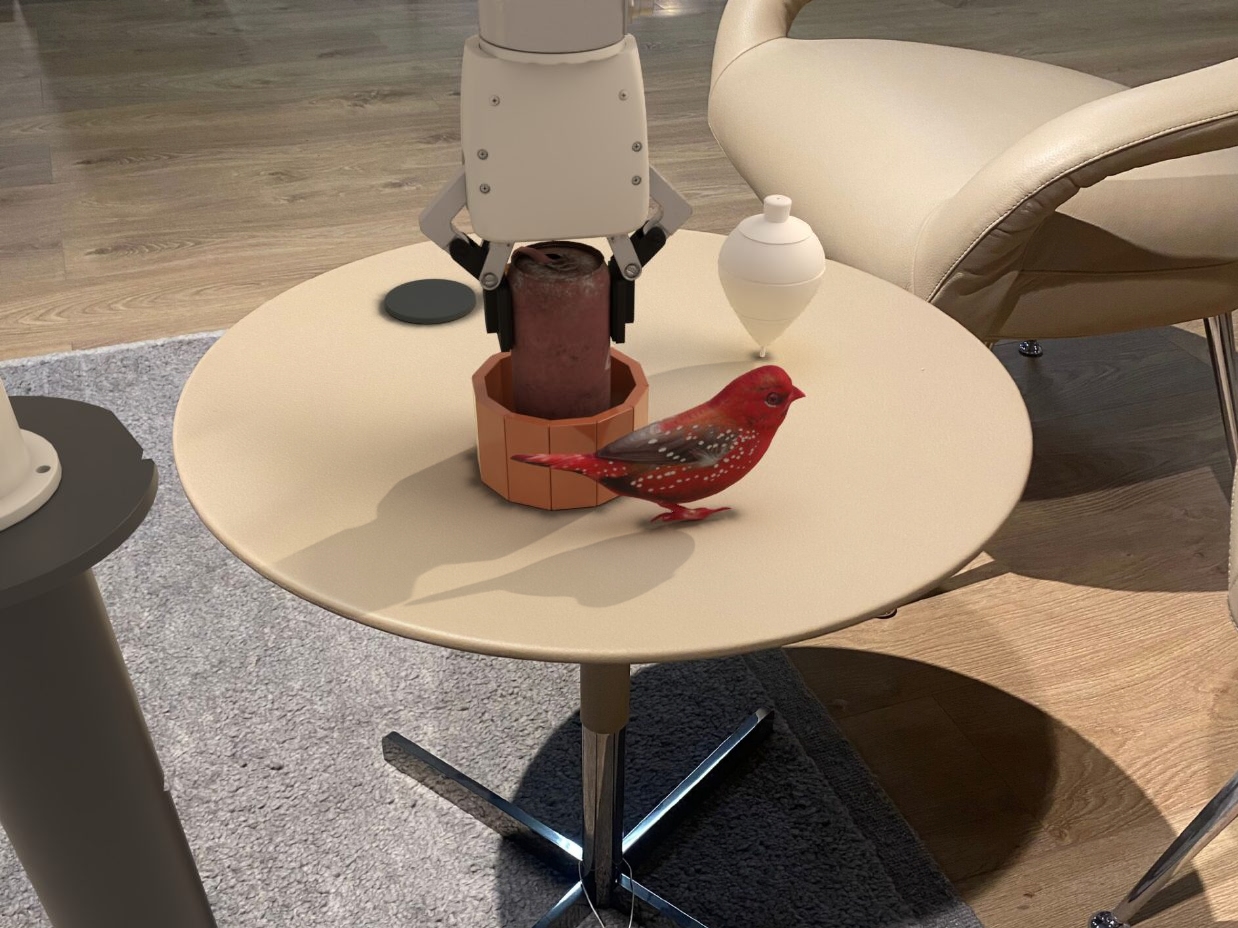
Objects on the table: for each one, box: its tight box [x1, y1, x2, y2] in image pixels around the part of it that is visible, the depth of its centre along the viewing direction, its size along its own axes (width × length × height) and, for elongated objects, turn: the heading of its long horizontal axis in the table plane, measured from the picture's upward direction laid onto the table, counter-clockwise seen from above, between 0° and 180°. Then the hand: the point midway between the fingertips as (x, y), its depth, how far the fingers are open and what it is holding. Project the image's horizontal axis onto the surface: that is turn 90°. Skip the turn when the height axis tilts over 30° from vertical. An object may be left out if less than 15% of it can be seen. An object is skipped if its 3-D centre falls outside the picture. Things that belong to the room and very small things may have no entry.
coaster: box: [384, 278, 477, 325], centre depth 95 cm, size 7×7×1 cm
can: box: [506, 240, 611, 420], centre depth 73 cm, size 6×6×14 cm
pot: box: [471, 346, 650, 511], centre depth 76 cm, size 11×11×6 cm
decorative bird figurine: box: [510, 364, 807, 523], centre depth 70 cm, size 3×18×10 cm, turn 105°
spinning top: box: [717, 194, 826, 358], centre depth 86 cm, size 8×8×12 cm
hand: (559, 335), depth 72 cm, fingers closed on can, 6 cm apart
